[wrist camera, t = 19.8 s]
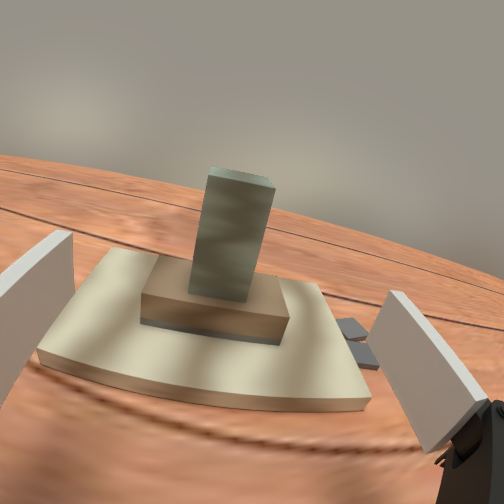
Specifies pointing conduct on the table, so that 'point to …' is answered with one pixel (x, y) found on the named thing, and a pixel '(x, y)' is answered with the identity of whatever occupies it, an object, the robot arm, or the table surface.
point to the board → (202, 349)
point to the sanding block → (221, 269)
